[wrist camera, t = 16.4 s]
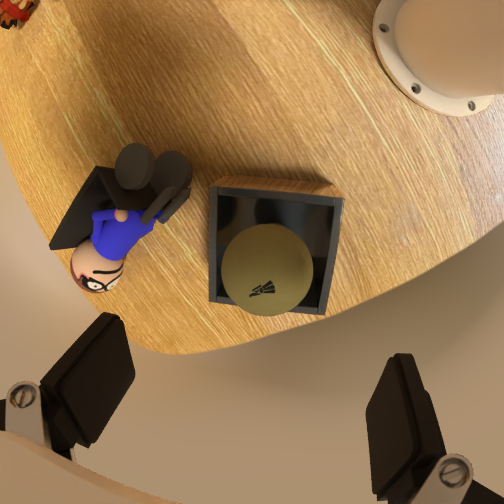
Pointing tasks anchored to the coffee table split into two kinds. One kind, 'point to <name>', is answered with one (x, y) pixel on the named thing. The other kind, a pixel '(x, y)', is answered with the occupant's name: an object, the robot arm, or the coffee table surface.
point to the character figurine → (120, 212)
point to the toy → (14, 12)
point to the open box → (283, 212)
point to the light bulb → (267, 269)
